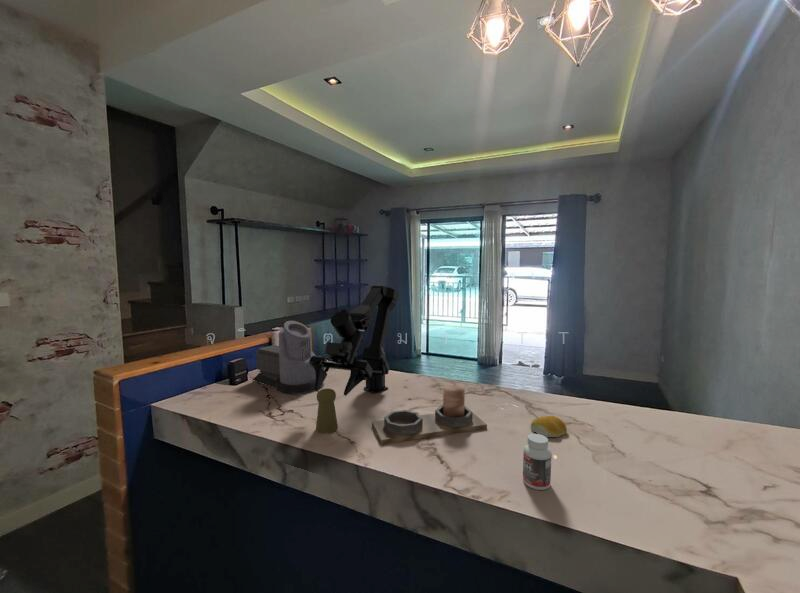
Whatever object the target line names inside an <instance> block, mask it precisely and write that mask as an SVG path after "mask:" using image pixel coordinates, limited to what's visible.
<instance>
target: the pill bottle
mask: <svg viewBox="0 0 800 593" xmlns="http://www.w3.org/2000/svg"><path fill="white" fill-rule="evenodd" d="M522 464H523V466H522V481H523V483H524V484H525V485H526V486H527V487H528V488H531V489H533V490H539V491H544V490H547V489H549V488H550V486H551V480H552V479H551V478H552V477H551V476H552V450H551V449H550V448H549V438H547V437H545V436H543V435H540V434H536V433H530V434H528V435H527V444H525V445H524V447H523V463H522Z"/></svg>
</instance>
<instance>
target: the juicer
mask: <svg viewBox="0 0 800 593" xmlns="http://www.w3.org/2000/svg"><path fill="white" fill-rule="evenodd" d="M255 354H256V356H255V357H256V369H257V370H259V373H258V374H256V376H255V377H254V378H252V380H255V381H257V382H261V383H264V384H267V385H266V386H268V385H270V386H269V387H271V386H273V387H272V388H274V387H276V388H275V389H277V390H276V391H277V392H278V391H279V392H278V393H280V392H281V394H285V393H286V395H293V394H294V396H299V395H298V394H303V395H308V394H312V393H315V392H316V391H315V380H316V373H315V370H314V368H313V367H312V366H311V365H310V364H309V360H310V358H311V357H312V356H314V355H316V354H315V353H314V351H313V350H312V334H311V331H310V329H309V328H308V327H307V326H306V325H305V324H303V323H302V322H299V321H297V320H287V321H285V322H284V323H283V329H281V330H280V331H279V332H278V345H275V344H273V345H269V346H263V347H259V348H257V351H256V353H255ZM257 382H256V383H257ZM261 383H260V384H261ZM264 384H263V385H264ZM324 386H325V383H324V382H323V384H322V385H321V387H320V389H319V390H318V391H320V390H322V388H324ZM307 393H308V394H307Z"/></svg>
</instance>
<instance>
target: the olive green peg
mask: <svg viewBox="0 0 800 593" xmlns="http://www.w3.org/2000/svg"><path fill="white" fill-rule="evenodd" d="M336 398H337V394H336V391H335V390H334V389H332V388H323V389H322V388H321V389H320V390H318V392H317V393H316V401H317V402H318V408H317V416H316V417H317V418H316V426H315V432H317V433H319V434H325V433H326V434H331V433H332V434H333V433H334V432H337V430H338V429H339V424H338V419H337V413H336V407H335V400H336ZM326 434H325V435H326Z"/></svg>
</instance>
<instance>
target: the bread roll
mask: <svg viewBox="0 0 800 593" xmlns="http://www.w3.org/2000/svg"><path fill="white" fill-rule="evenodd" d="M530 429H531V431H532V433H535V432H536V433H537V434H540V435H543V436H545V437H556V438H559V437H561V436H564V435H566V434H567V431H568V429H567V425H566V423H565V422H564V421H563V420H562V419H560V418H559V417H557V416H554V415H543V416H540V417H538V418H534V419H533V420H532V421H531V422H530ZM536 433H535V434H536ZM563 434H564V435H563Z"/></svg>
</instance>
